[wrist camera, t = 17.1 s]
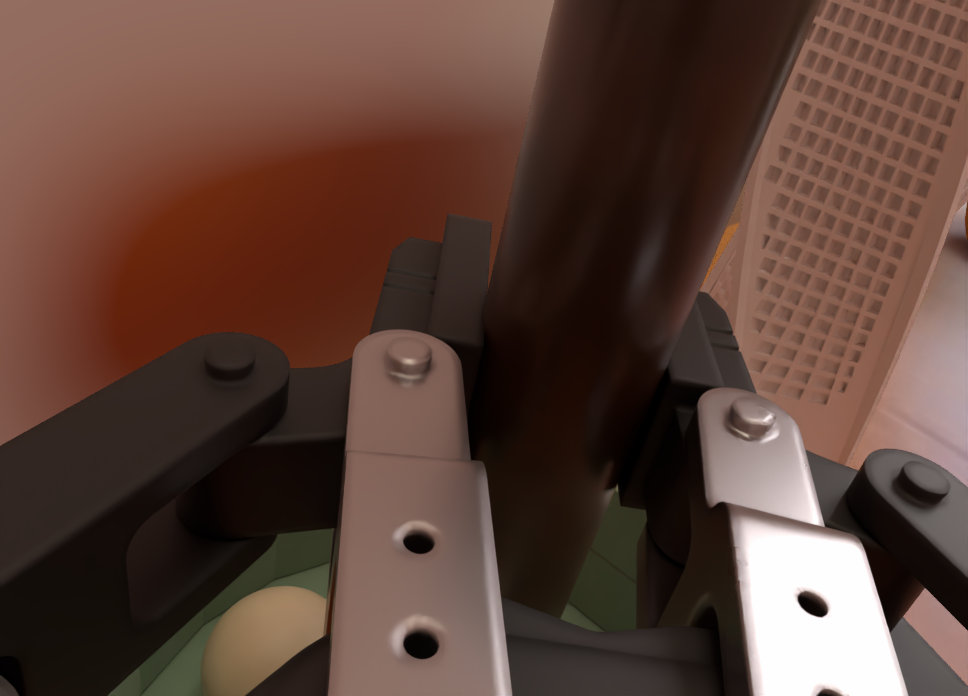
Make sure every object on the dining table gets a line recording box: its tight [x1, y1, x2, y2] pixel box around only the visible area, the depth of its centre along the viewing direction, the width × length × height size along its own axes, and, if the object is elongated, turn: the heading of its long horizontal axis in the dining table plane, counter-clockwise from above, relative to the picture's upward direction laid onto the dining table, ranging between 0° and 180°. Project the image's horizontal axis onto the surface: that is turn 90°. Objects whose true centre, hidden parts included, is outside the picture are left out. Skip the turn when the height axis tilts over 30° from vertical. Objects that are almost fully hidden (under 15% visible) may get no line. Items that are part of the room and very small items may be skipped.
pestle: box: [467, 0, 822, 619], centre depth 12 cm, size 4×4×18 cm
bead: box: [200, 586, 327, 696], centre depth 18 cm, size 3×3×3 cm
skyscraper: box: [700, 0, 968, 467], centre depth 22 cm, size 8×7×28 cm
